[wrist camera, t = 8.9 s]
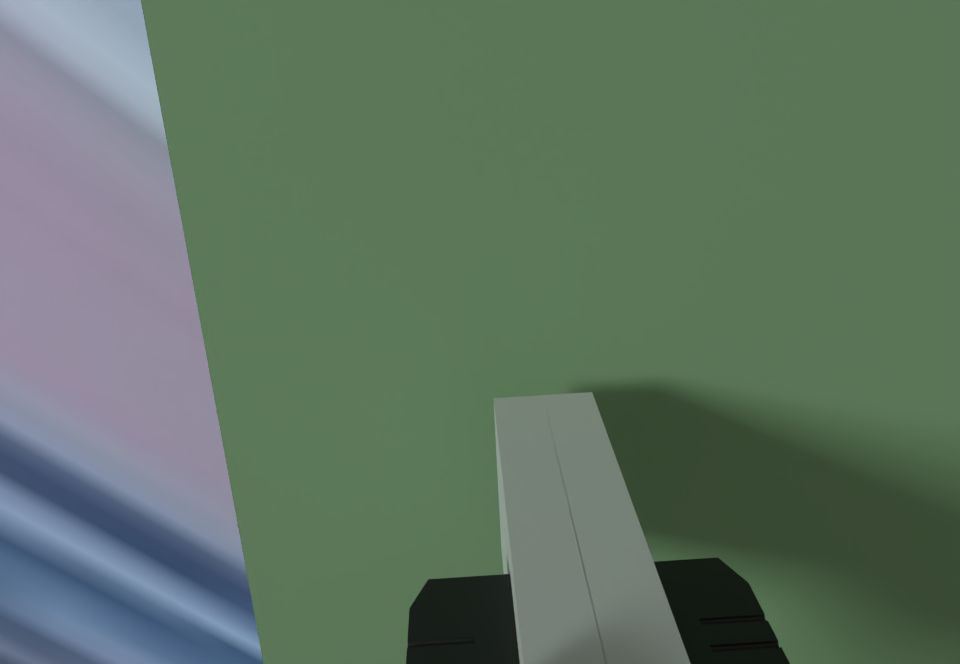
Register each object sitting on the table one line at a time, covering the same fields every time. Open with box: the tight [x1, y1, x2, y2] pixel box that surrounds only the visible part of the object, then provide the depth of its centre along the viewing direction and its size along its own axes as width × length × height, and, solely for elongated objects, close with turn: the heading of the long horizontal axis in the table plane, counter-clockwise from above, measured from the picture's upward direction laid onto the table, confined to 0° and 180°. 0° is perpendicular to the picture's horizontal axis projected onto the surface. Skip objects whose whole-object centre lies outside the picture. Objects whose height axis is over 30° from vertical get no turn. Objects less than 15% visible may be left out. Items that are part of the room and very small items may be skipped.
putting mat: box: [141, 0, 960, 664], centre depth 16 cm, size 16×24×3 cm, turn 93°
